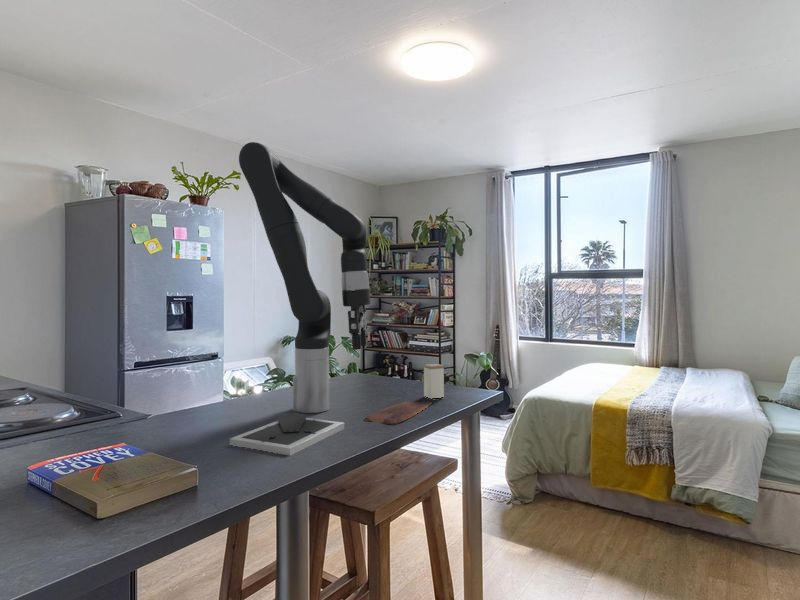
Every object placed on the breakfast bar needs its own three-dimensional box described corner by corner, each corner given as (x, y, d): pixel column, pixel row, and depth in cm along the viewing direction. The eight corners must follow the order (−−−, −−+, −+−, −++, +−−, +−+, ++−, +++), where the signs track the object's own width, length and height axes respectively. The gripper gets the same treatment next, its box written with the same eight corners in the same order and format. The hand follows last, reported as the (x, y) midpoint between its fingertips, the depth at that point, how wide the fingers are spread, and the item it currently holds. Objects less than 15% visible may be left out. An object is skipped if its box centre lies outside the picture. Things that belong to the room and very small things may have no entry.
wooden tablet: (407, 396, 146) (438, 396, 142) (408, 404, 146) (439, 403, 142) (360, 417, 123) (395, 417, 118) (361, 426, 123) (396, 426, 118)
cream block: (423, 396, 150) (423, 364, 150) (436, 395, 152) (436, 363, 152) (430, 399, 146) (430, 366, 146) (444, 398, 148) (444, 365, 148)
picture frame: (290, 424, 122) (229, 448, 103) (290, 412, 122) (229, 435, 103) (344, 431, 116) (290, 458, 97) (344, 419, 116) (289, 444, 97)
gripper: (347, 289, 140) (351, 345, 141) (336, 289, 126) (340, 351, 126) (373, 287, 140) (376, 344, 140) (364, 287, 126) (369, 349, 126)
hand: (359, 347), depth 133 cm, fingers open, 8 cm apart
